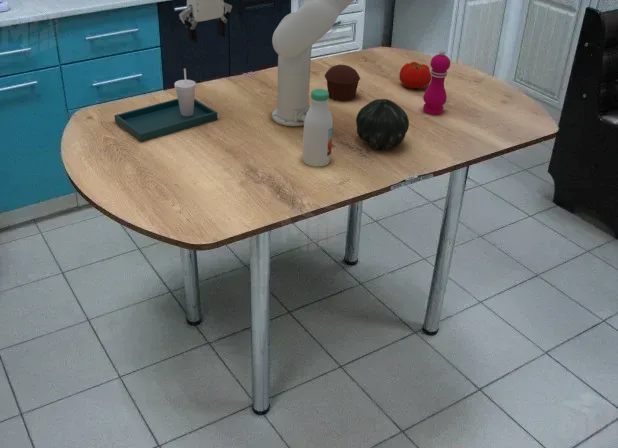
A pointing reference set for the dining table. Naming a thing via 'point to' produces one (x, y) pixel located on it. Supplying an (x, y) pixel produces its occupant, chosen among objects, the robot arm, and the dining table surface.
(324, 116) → the milk bottle
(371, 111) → the squash
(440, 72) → the pepper mill
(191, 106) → the smoothie
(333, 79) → the muffin
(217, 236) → the dining table surface
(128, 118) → the tray
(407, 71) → the tomato
